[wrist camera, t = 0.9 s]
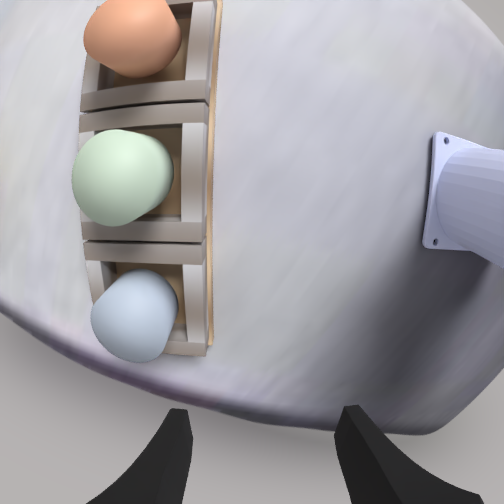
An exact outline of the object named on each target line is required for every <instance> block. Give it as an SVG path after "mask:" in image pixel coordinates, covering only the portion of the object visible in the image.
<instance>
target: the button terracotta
mask: <svg viewBox="0 0 504 504" xmlns="http://www.w3.org/2000/svg"><path fill="white" fill-rule="evenodd" d="M181 42H182V32H181V29H180V27H179V25H178V23H177V21H176V19H175V17H174V15H173V14H172V12H171V10H170V8H169V6H168V4H167V3H166V1H165V0H107V1H106V2H104V3H103V4H102V5H101V6H100V7H99V8H98V9H97V10H96V11H95V12H94V14H93V15H92V16H91V18H90V19H89V21H88V23H87V26H86V28H85V32H84V47H85V50H86V51H87V53H88V54H89V55H90V56H91V57H92V58H93V59H95V60H97V61H98V62H100V63H102V64H103V65H105V66H107V67H109V68H110V69H112V70H114V71H115V72H117V73H119V74H120V75H122V76H124V77H127V78H144V77H148V76H151V75H153V74H155V73H157V72H159V71H161V70H162V69H164V68H165V67H166V66H167V65H168V64H169V63H170V62H171V61H172V60H173V59H174V58H175V56H176V55H177V53H178V51H179V49H180V46H181Z"/></svg>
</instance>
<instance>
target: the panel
mask: <svg viewBox="0 0 504 504" xmlns="http://www.w3.org/2000/svg"><path fill="white" fill-rule="evenodd" d="M165 1H166V3H167V4H168V6H169V8H170V10H171V12H172V14H173V15H174V17H175V19H176V21H177V23H178V25H179V27H180V29H181V32H182V42H181V46H180V49H179V51H178V53H177V55H176V56H175V58H174V59H173V60H172V61H171V62H170V63H169V64H168V65H167V66H166V67H165V68H164V69H162V70H161V71H159V72H157V73H155V74H153V75H151V76H148V77H144V78H127V77H124V76H122V75H120V74H119V73H117V72H115V71H114V70H112V69H110V68H109V67H107V66H105V65H103V64H102V63H100V62H98V61H97V60H95V59H93V58H92V57H91V56H90V55H89V54H88V53H87V56H86V62H85V69H84V76H83V85H82V94H81V105H80V112H84V113H89V114H83V115H80V119H79V143H78V153H79V151H80V150H81V148H82V147H83V146H84V144H85V143H86V142H87V141H88V140H89V139H91V138H92V137H93V136H95V135H97V134H99V133H101V132H103V131H107V130H115V129H117V130H124V131H130V132H135V133H140V134H144V135H148V136H151V137H154V138H156V139H157V140H159V141H160V142H161V143H162V144H163V145H164V146H165V147H166V148H167V150H168V151H169V153H170V155H171V157H172V161H173V165H174V179H173V184H172V187H171V190H170V192H169V194H168V195H167V197H166V198H165V199H164V201H163V202H162V203H161V204H159V205H158V206H157V207H155V208H154V209H152V210H150V211H149V212H147V213H145V214H143V215H142V216H140V217H138V218H137V219H135V220H133V221H131V222H130V223H127V224H125V225H121V226H114V227H112V226H105V225H101V224H98V223H96V222H94V221H93V220H91V219H90V218H89V217H87V216H86V215H85V214H84V212H83V211H82V210H81V209H80V215H81V226H82V236H83V240H88V241H86V242H84V243H83V245H84V253H85V260H86V267H87V273H88V280H89V285H90V291H91V296H92V301H93V305H94V304H95V302H96V301H97V300H98V299H99V298H100V297H101V296H102V295H103V293H104V292H105V291H106V290H107V289H108V288H109V287H110V286H111V285H112V284H113V283H114V282H115V281H116V280H117V279H118V278H119V277H120V276H121V275H122V274H123V273H124V272H126V271H128V270H132V269H147V270H151V271H154V272H156V273H158V274H159V275H161V276H162V277H164V278H165V279H166V280H167V281H168V282H169V283H170V284H171V286H172V287H173V289H174V290H175V292H176V295H177V298H178V303H179V309H178V314H177V317H176V320H175V322H174V325H173V327H172V330H171V332H170V335H169V337H168V340H167V343H166V345H165V348H164V350H163V351H162V353H166V354H177V355H190V356H206V352H207V347H208V345H213V339H214V328H213V281H212V204H213V158H214V129H215V107H216V88H217V71H218V56H219V43H220V30H221V18H222V8H223V2H222V0H165ZM99 7H100V6H97V8H96V10H97V9H98V8H99Z"/></svg>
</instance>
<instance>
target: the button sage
mask: <svg viewBox="0 0 504 504" xmlns="http://www.w3.org/2000/svg"><path fill="white" fill-rule="evenodd" d="M173 179H174V165H173V161H172V157H171V155H170V153H169V151H168V150H167V148H166V147H165V146H164V145H163V144H162V143H161V142H160V141H159V140H157V139H156V138H154V137H151V136H148V135H144V134H140V133H135V132H130V131H124V130H117V129H115V130H107V131H103V132H101V133H99V134H97V135H95V136H93V137H92V138H91V139H89V140H88V141H87V142H86V143H85V144H84V146H83V147H82V148H81V150H80V151H79V153H78V155H77V157H76V159H75V162H74V166H73V170H72V189H73V193H74V196H75V199H76V201H77V204H78V205H79V207H80V209H81V210H82V211H83V212H84V214H85V215H86V216H87V217H89V218H90V219H91V220H93V221H94V222H96V223H98V224H101V225H105V226H112V227H114V226H121V225H125V224H127V223H130V222H131V221H133V220H135V219H137V218H138V217H140V216H142V215H143V214H145V213H147V212H149V211H150V210H152V209H154V208H155V207H157V206H158V205H159V204H161V203H162V202H163V201H164V199H165V198H166V197H167V195H168V194H169V192H170V190H171V187H172V184H173Z"/></svg>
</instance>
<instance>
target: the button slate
mask: <svg viewBox="0 0 504 504" xmlns="http://www.w3.org/2000/svg"><path fill="white" fill-rule="evenodd" d="M178 309H179V303H178V298H177V295H176V292H175V290H174V289H173V287H172V286H171V284H170V283H169V282H168V281H167V280H166V279H165V278H164V277H162V276H161V275H159V274H158V273H156V272H154V271H151V270H147V269H132V270H128V271H126V272H124V273H123V274H122V275H121V276H120V277H119V278H118V279H117V280H116V281H115V282H114V283H113V284H112V285H111V286H110V287H109V288H108V289H107V290H106V291H105V292H104V293H103V295H102V296H101V297H100V298H99V299H98V300H97V301H96V302H95V304H94V305H93V308H92V311H91V325H92V328H93V331H94V334H95V335H96V337H97V339H98V340H99V342H100V343H101V344H102V345H103V346H104V347H105V348H106V349H107V350H108V351H109V352H110V353H112V354H113V355H115V356H117V357H118V358H121V359H123V360H126V361H129V362H136V363H143V362H148V361H151V360H153V359H155V358H157V357H158V356H159V355H160V354H161V353H162V351H163V350H164V348H165V345H166V343H167V340H168V337H169V335H170V332H171V330H172V327H173V325H174V322H175V320H176V317H177V314H178Z"/></svg>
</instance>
